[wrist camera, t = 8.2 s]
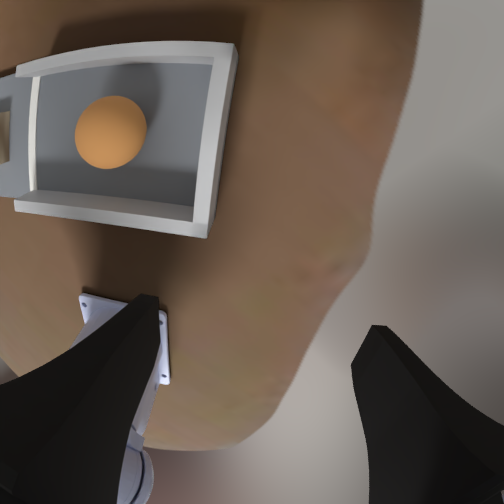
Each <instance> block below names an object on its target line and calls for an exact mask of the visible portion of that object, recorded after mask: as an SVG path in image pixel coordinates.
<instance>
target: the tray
mask: <svg viewBox="0 0 504 504" xmlns="http://www.w3.org/2000/svg"><path fill="white" fill-rule="evenodd" d="M238 59H239V56H238V53H237V50H236V47H235V45H234V44H232V43H221V42H204V41H152V42H136V43H124V44H115V45H107V46H99V47H93V48H87V49H81V50H76V51H71V52H66V53H61V54H57V55H53V56H49V57H45V58H41V59H37V60H34V61H30V62H27V63H24V64H21V65H18V66H17V68H16V73H15V74H12V75H9V76H6V77H3V78H0V113H1V112H7V111H10V122H9V161H8V162H6V163H3V164H0V196H2V197H13V198H17V199H15V200H14V205H15V211H19V212H26V213H33V214H41V215H48V216H55V217H62V218H69V219H76V220H83V221H90V222H97V223H104V224H111V225H118V226H125V227H131V228H138V229H145V230H152V231H159V232H165V233H172V234H179V235H186V236H192V237H199V238H205V239H207V236H208V234H209V231H210V229H211V226H212V224H213V221H214V219H215V214H216V206H217V198H218V190H219V182H220V174H221V167H222V160H223V152H224V145H225V139H226V132H227V125H228V119H229V112H230V106H231V100H232V94H233V88H234V82H235V76H236V70H237V65H238ZM107 96H122V97H125V98H128V99H130V100H132V101H133V102H134V103H136V104H137V105H138V106H139V107H140V109H141V110H142V112H143V114H144V116H145V119H146V125H147V132H146V138H145V141H144V144H143V146H142V148H141V150H140V151H139V152H138V154H137V155H136V156H135V157H134V158H133V159H132V160H131V161H129V162H128V163H126V164H124V165H122V166H120V167H117V168H112V169H101V168H97V167H94V166H92V165H90V164H89V163H87V162H86V161H85V160H84V159H83V158H82V157H81V155H80V154H79V152H78V150H77V147H76V143H75V129H76V125H77V122H78V119H79V117H80V116H81V114H82V113H83V111H84V110H85V109H86V108H87V107H88V106H89V105H90V104H92V103H93V102H95V101H96V100H98V99H101V98H103V97H107Z"/></svg>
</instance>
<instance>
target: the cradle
mask: <svg viewBox="0 0 504 504" xmlns="http://www.w3.org/2000/svg"><path fill="white" fill-rule="evenodd" d="M9 122H10V111H7V112H1V113H0V164H3V163H6V162H8V161H9Z"/></svg>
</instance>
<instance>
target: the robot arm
mask: <svg viewBox="0 0 504 504" xmlns="http://www.w3.org/2000/svg"><path fill="white" fill-rule="evenodd" d="M79 301H80V306H81V310H82V314H83V318H84V322H85V325H84V327H83V328H82V330H81V331H80V333H79V334H78V336H77V337H76V339H75V341H74V342H73V344H72V345H71V347H70V348H69V350H68V351H66V352H65V353H63V354H61V355H60V356H58V357H57V358H55V359H53V360H51V361H50V362H48V363H46V364H45V365H43V366H41V367H39V368H37V369H35V370H33V371H31V372H29V373H27V374H25V375H23V376H21V377H19V378H16V379H14V380H12V381H9V382H7V383H4V384H1V385H0V504H146V502H147V500H148V498H149V496H150V494H151V491H152V487H153V480H154V473H153V467H152V462H151V459H150V457H149V455H148V454H147V452H146V451H144V450H143V449H142V447H143V443H144V440H145V438H144V437H142V436H141V435H142V434H143V433H144V431H145V429H146V427H147V423H148V420H149V416H150V413H151V409H152V406H153V403H154V399H155V396H156V393H157V389H158V386H159V383H161V384H165V385H167V384H169V383H170V368H169V353H168V332H167V315H166V313H165V312H164V311H161V310H159V300H158V297H155V296H150V295H145V294H140V295H138V296H137V297H136V298H135V299H133V300H132V301H131V302H130V303H129V304H128V303H124V302H119V301H115V300H110V299H106V298H102V297H98V296H94V295H90V294H86V293H82V294H81V295H80V296H79ZM85 303H86V304H85ZM159 320H161V321H162V322H160V321H159ZM351 369H352V379H353V387H354V392H355V396H356V400H357V404H358V408H359V412H360V417H361V421H362V425H363V429H364V434H365V438H366V443H367V450H368V462H369V486H370V487H369V504H504V494H503V495H502V494H501V491H502V490H504V426H503V425H501V424H500V423H497V422H496V421H494V420H492V419H491V418H489V417H487V416H486V415H484V414H483V413H481V412H480V411H479V410H477V409H476V408H474V407H473V406H471V405H470V404H469V403H467V402H466V401H465V400H464V399H462V398H461V397H460V396H459V395H458V394H456V393H455V392H454V391H453V390H452V389H450V388H449V387H448V386H447V385H446V384H445V383H444V382H443V381H442V380H441V379H440V378H439V377H437V376H436V375H435V374H434V373H433V372H432V371H431V370H430V369H429V368H428V367H427V366H426V365H425V364H424V363H423V362H422V361H421V359H420V358H419V357H418V356H417V355H416V354H415V353H414V352H413V351H412V350H411V349H410V348H409V347H408V346H407V345H406V344H405V343H404V342H403V341H402V340H401V339H400V338H399V337H398V336H397V335H396V334H395V333H394V332H393V331H392V330H391V329H389V328H388V327H387V326H381V325H372V326H371V328H370V330H369V332H368V334H367V336H366V338H365V339H364V341H363V343H362V345H361V347H360V349H359V351H358V352H357V354H356V356H355V358H354V360H353V361H352V363H351Z"/></svg>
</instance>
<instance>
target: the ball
mask: <svg viewBox="0 0 504 504" xmlns="http://www.w3.org/2000/svg"><path fill="white" fill-rule="evenodd" d="M146 132H147V125H146V119H145V116H144V114H143V112H142V110H141V109H140V107H139V106H138V105H137V104H136V103H134V102H133V101H132V100H130V99H128V98H125V97H122V96H107V97H103V98H101V99H98V100H96V101H95V102H93V103H92V104H90V105H89V106H88V107H87V108H86V109H85V110H84V111H83V113H82V114H81V116H80V117H79V119H78V122H77V125H76V129H75V143H76V147H77V150H78V152H79V154H80V155H81V157H82V158H83V159H84V160H85V161H86V162H87V163H89V164H90V165H92V166H94V167H97V168H101V169H112V168H117V167H120V166H122V165H124V164H126V163H128V162H129V161H131V160H132V159H133V158H134V157H135V156H136V155H137V154H138V152H139V151H140V150H141V148H142V146H143V144H144V141H145V138H146Z"/></svg>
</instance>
